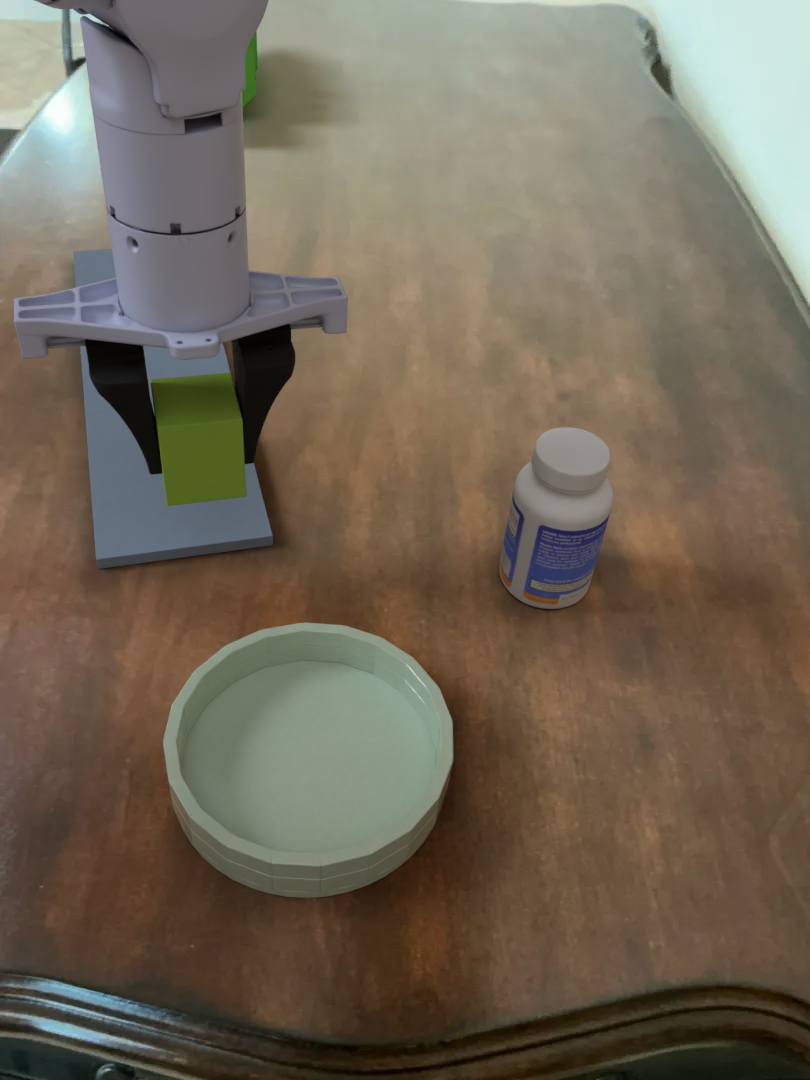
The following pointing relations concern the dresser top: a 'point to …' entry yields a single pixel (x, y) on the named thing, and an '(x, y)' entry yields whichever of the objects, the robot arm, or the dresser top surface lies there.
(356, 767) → the basin
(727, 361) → the dresser top surface
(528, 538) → the pill bottle
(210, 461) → the cube
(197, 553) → the mat
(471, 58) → the dresser top surface
